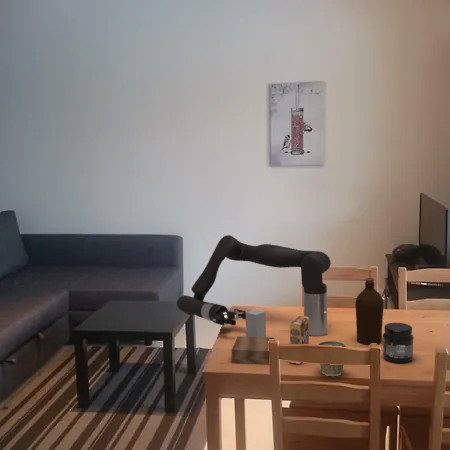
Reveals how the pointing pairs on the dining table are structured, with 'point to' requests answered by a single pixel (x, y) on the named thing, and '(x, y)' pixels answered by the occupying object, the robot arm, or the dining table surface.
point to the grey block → (255, 323)
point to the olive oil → (369, 314)
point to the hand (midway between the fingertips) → (242, 320)
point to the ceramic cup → (327, 368)
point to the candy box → (299, 331)
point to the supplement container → (398, 342)
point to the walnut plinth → (251, 350)
